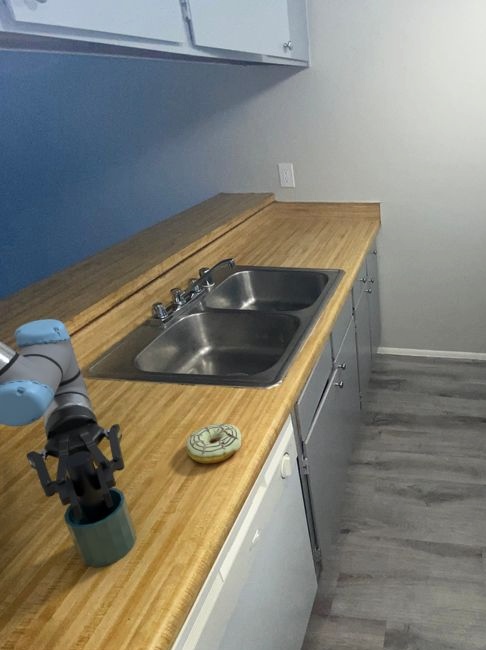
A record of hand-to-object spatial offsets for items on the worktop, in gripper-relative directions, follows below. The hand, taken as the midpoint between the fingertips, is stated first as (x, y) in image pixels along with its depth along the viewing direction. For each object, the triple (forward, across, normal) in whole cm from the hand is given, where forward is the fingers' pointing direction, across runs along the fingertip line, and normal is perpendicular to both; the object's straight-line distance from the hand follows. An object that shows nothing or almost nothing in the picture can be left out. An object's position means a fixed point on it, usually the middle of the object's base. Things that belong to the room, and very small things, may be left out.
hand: (93, 506), depth 68 cm
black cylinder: (-5, 0, -7) cm, 9 cm away
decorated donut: (-18, -22, -14) cm, 32 cm away
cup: (-5, 0, -14) cm, 15 cm away
